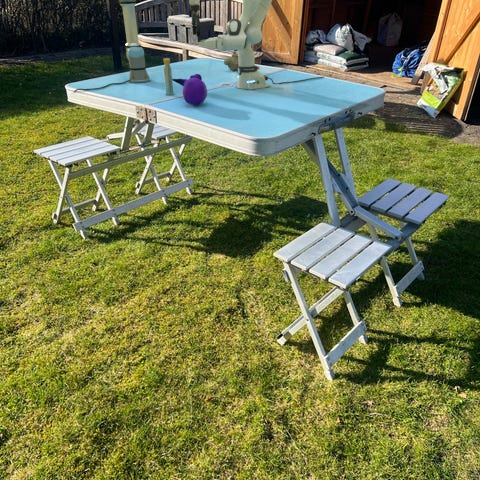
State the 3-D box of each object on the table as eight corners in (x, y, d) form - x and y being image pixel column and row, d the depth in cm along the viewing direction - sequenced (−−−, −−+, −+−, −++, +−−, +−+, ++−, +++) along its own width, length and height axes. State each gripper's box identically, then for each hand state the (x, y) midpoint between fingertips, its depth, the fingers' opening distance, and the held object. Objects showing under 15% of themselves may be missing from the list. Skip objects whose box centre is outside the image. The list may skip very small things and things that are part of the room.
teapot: (227, 73, 361) (227, 53, 353) (221, 70, 369) (220, 51, 362) (250, 70, 370) (250, 50, 362) (243, 68, 378) (242, 49, 371)
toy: (196, 96, 291) (207, 111, 270) (169, 91, 283) (179, 106, 263) (201, 71, 283) (213, 84, 262) (173, 66, 275) (184, 79, 255)
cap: (171, 62, 290) (170, 58, 289) (169, 63, 287) (168, 59, 285) (164, 62, 291) (164, 58, 290) (162, 63, 287) (162, 59, 286)
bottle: (174, 93, 300) (171, 59, 289) (172, 95, 296) (169, 60, 285) (167, 93, 301) (164, 58, 290) (165, 95, 297) (161, 60, 286)
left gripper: (203, 5, 329) (204, 36, 339) (195, 3, 349) (197, 33, 360) (193, 5, 327) (195, 37, 338) (186, 4, 347) (188, 34, 358)
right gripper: (223, 35, 287) (201, 35, 288) (219, 38, 269) (196, 39, 271) (223, 45, 290) (202, 45, 291) (219, 50, 273) (197, 50, 274)
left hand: (196, 35), depth 349 cm, fingers open, 13 cm apart
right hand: (199, 42), depth 281 cm, fingers open, 8 cm apart
